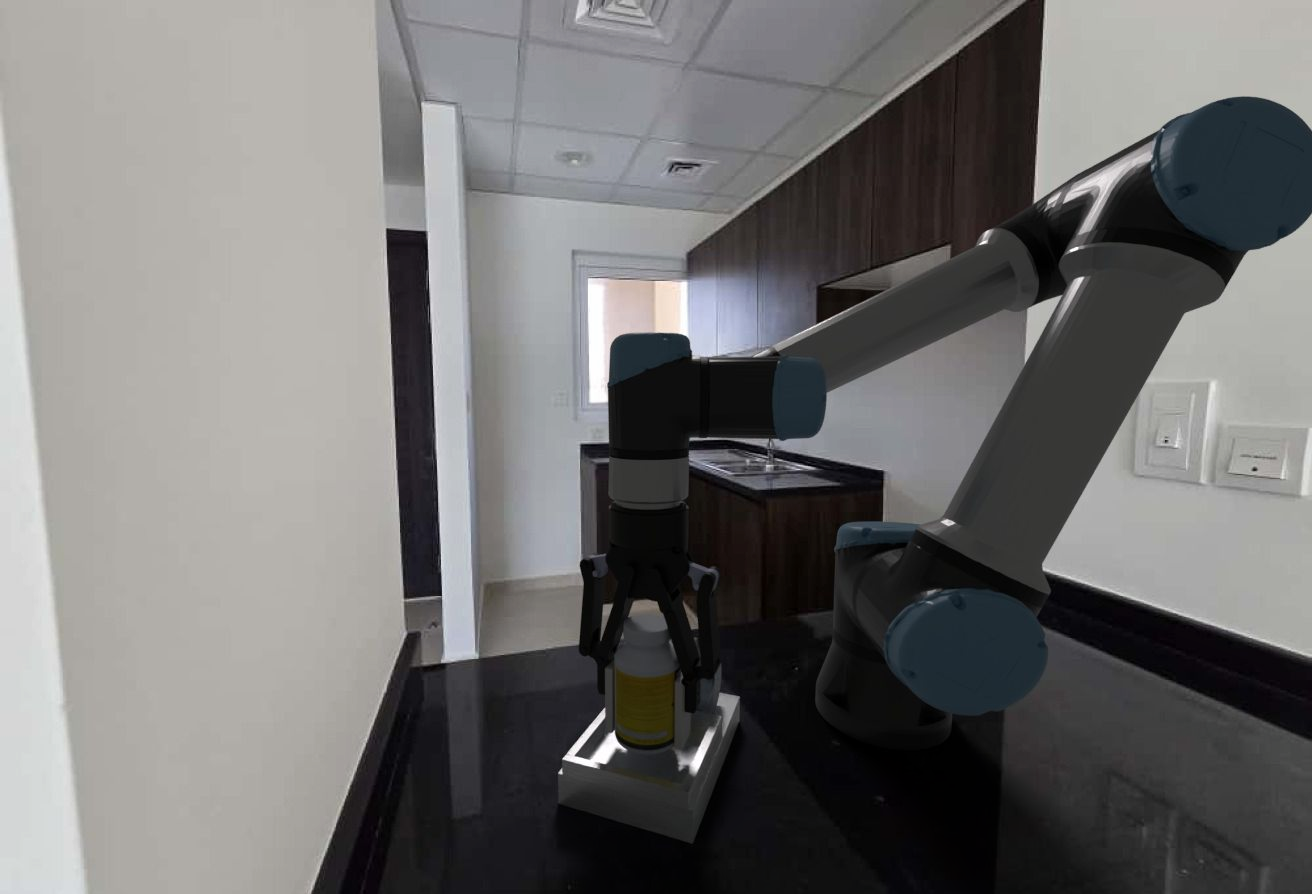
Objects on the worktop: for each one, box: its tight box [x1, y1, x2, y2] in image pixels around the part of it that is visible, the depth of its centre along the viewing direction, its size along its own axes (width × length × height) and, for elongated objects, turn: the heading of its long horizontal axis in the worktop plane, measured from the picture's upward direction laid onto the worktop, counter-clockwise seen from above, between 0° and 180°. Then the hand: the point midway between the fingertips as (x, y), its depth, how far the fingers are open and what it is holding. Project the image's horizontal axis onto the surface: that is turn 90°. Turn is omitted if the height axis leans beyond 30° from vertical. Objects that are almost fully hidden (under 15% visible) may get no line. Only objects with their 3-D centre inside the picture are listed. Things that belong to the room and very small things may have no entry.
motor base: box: [557, 636, 741, 844], centre depth 58 cm, size 19×13×10 cm
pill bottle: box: [614, 613, 681, 755], centre depth 54 cm, size 6×6×12 cm
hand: (647, 732), depth 55 cm, fingers closed on pill bottle, 6 cm apart
